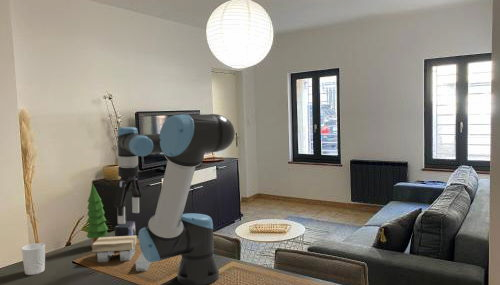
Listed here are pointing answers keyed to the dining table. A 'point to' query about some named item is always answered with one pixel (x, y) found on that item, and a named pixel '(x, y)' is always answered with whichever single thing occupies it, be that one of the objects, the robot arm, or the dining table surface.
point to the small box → (125, 229)
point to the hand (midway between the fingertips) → (129, 217)
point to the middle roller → (104, 256)
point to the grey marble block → (142, 263)
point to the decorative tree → (96, 216)
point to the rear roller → (127, 254)
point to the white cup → (34, 258)
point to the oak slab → (114, 243)
